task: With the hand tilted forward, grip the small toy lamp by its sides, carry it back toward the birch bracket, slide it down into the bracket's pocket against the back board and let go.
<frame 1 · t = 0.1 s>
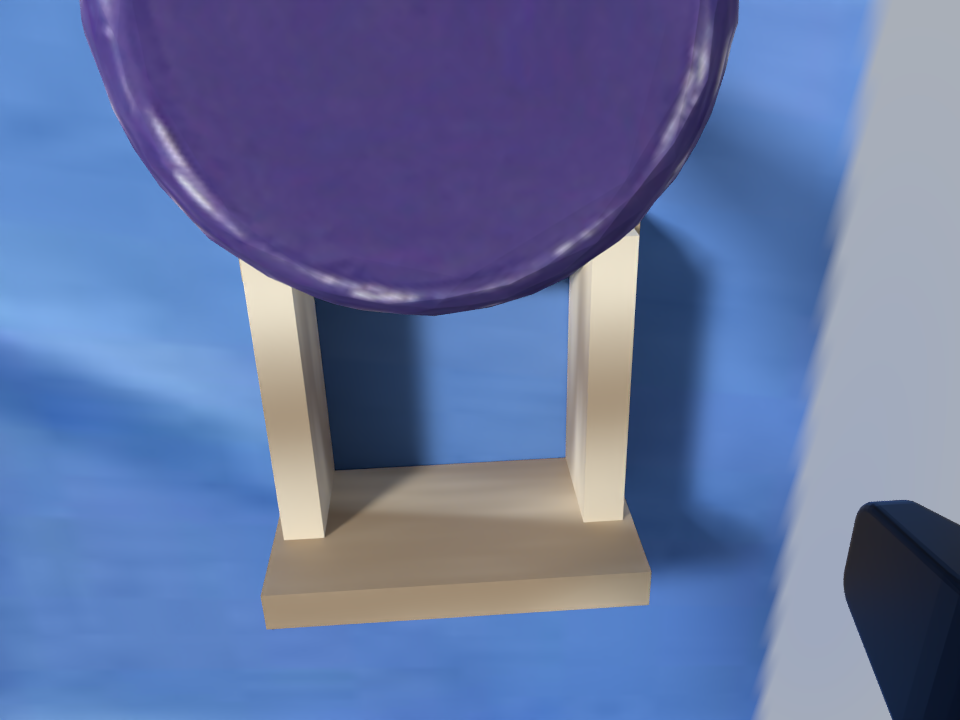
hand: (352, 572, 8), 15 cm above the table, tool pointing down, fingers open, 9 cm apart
birch bracket: (445, 360, 23), on the table
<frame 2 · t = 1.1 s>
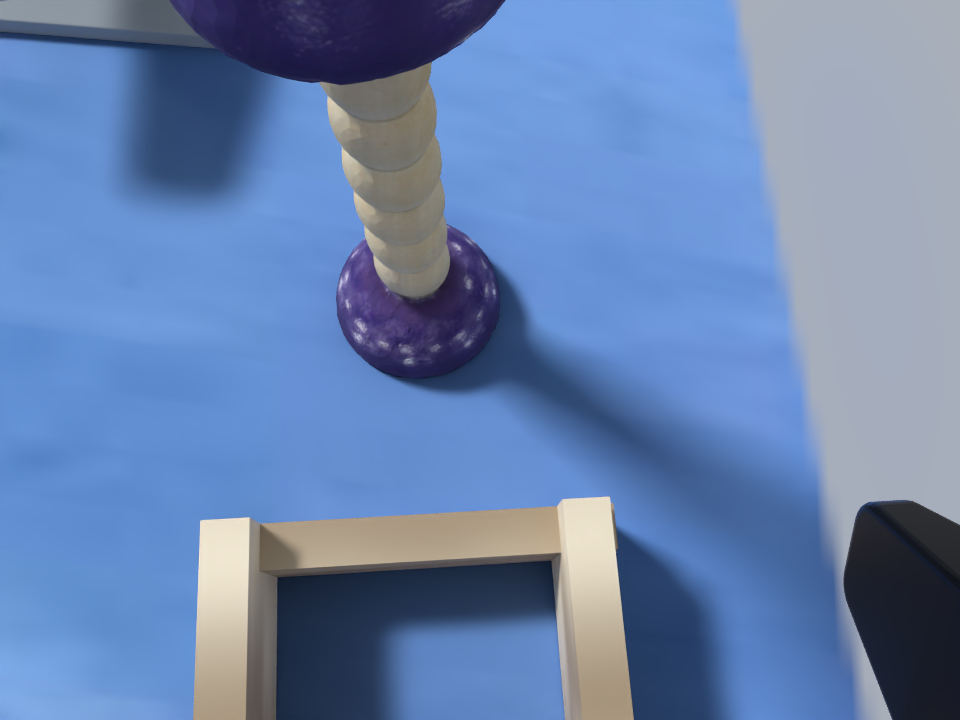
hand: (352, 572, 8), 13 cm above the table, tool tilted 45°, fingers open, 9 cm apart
toy lamp: (405, 307, 23), on the table
birch bracket: (421, 716, 20), on the table
when the fingers open (10 cm above the table, at t = 6.1 s): toy lamp drops 1 cm, resting in birch bracket.
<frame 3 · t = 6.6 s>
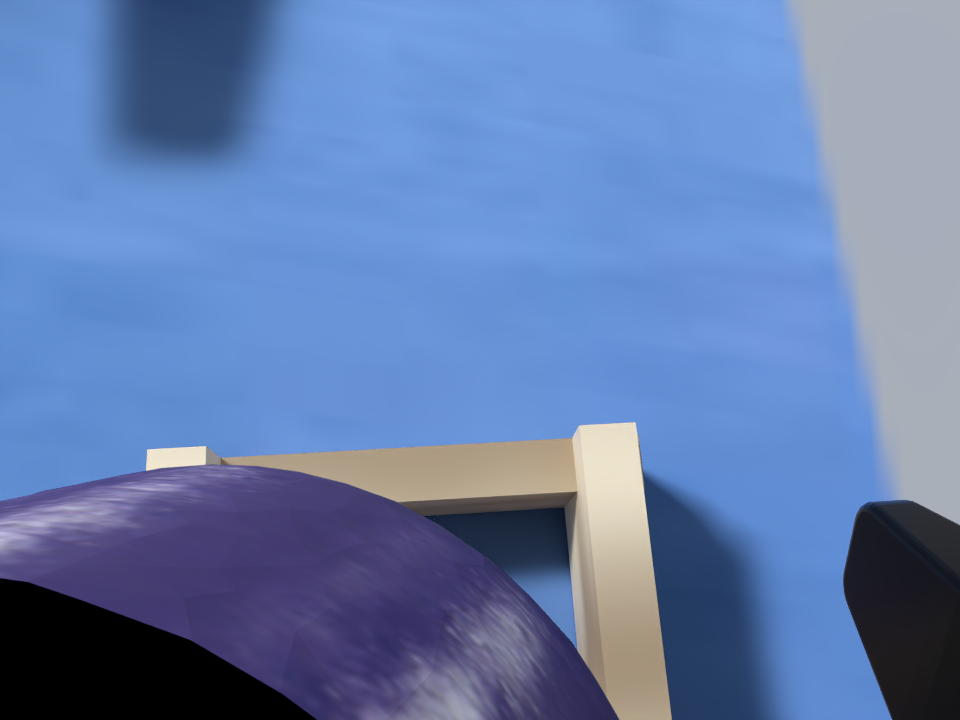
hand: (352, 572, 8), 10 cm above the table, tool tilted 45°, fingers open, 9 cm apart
toy lamp: (414, 698, 17), resting in birch bracket
birch bracket: (412, 686, 17), on the table
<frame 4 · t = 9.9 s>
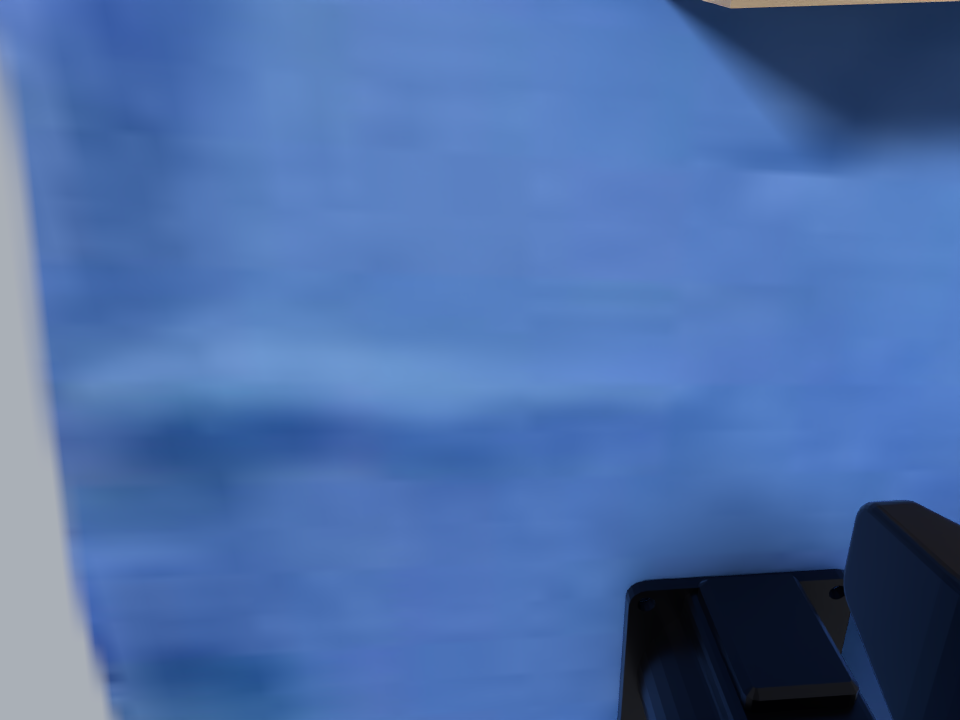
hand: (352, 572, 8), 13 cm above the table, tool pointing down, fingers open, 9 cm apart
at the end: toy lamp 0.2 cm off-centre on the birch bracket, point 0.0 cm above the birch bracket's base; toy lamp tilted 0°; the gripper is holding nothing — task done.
